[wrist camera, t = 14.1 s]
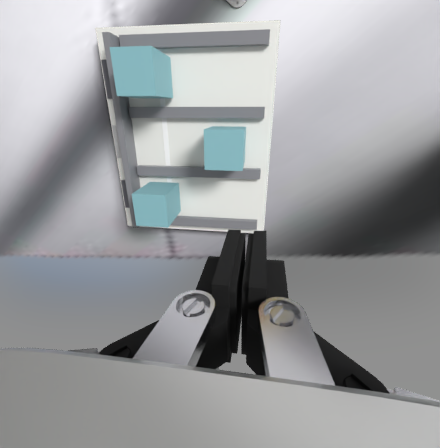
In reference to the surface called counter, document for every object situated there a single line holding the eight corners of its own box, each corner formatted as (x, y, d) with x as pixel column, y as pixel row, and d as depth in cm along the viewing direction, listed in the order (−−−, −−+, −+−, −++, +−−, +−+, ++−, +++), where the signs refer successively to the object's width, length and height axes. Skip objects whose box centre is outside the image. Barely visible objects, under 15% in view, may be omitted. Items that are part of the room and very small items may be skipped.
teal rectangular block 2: (178, 182, 33) (165, 195, 28) (180, 210, 35) (168, 227, 30) (149, 181, 34) (131, 194, 29) (153, 209, 35) (136, 225, 30)
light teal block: (246, 126, 29) (244, 129, 24) (244, 161, 31) (242, 170, 26) (212, 126, 30) (203, 129, 25) (212, 160, 32) (204, 169, 27)
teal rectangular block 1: (170, 57, 28) (151, 45, 23) (173, 98, 29) (156, 95, 24) (135, 58, 28) (109, 47, 23) (140, 98, 30) (116, 95, 25)
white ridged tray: (278, 26, 27) (282, 11, 23) (263, 227, 37) (263, 241, 33) (105, 32, 30) (81, 20, 26) (133, 220, 39) (120, 233, 35)
